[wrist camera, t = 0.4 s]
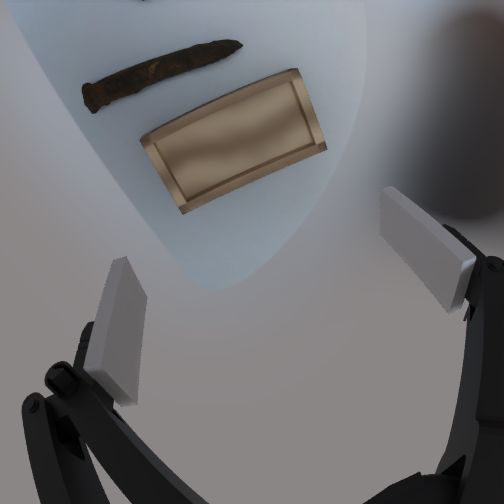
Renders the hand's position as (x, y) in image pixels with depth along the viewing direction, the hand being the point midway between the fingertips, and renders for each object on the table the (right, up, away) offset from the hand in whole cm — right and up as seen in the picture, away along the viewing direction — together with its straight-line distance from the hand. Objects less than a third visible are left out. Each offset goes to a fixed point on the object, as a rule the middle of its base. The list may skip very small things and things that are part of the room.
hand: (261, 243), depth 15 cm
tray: (-3, +14, +22) cm, 26 cm away
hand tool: (-11, +22, +16) cm, 29 cm away
